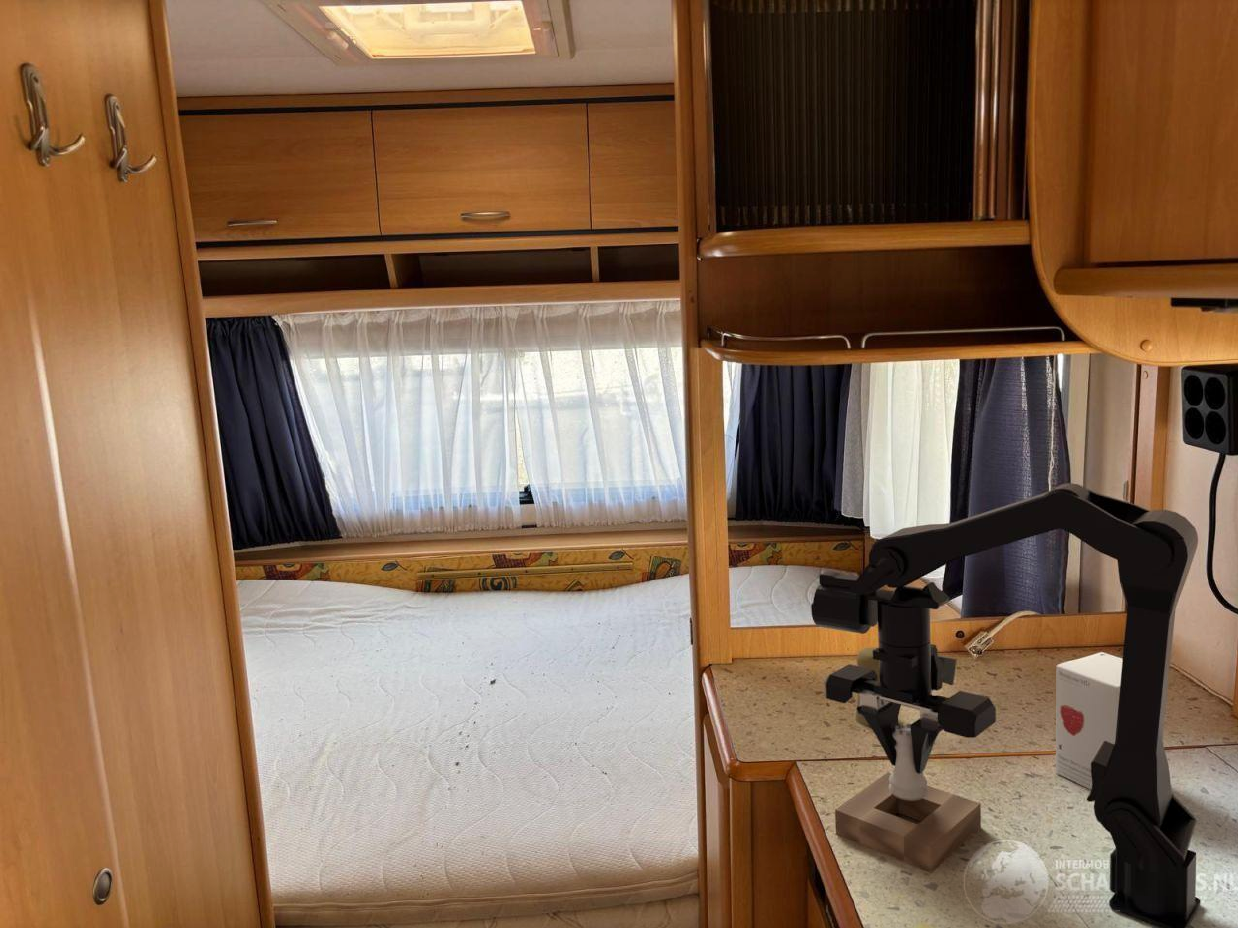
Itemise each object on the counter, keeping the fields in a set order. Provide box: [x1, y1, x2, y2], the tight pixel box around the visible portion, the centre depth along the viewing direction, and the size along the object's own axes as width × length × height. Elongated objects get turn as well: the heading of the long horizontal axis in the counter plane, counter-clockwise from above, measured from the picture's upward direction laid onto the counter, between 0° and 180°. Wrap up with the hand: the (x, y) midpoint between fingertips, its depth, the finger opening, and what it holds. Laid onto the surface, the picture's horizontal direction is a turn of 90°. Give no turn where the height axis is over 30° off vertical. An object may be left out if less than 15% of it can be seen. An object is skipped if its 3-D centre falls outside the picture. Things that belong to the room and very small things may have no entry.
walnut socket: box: [834, 771, 982, 873], centre depth 104 cm, size 12×12×3 cm
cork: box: [855, 646, 880, 727], centre depth 134 cm, size 6×6×11 cm
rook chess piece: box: [888, 722, 928, 801], centre depth 103 cm, size 4×4×8 cm
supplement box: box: [1055, 651, 1165, 791], centre depth 112 cm, size 9×9×15 cm
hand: (907, 768), depth 103 cm, fingers closed on rook chess piece, 3 cm apart
